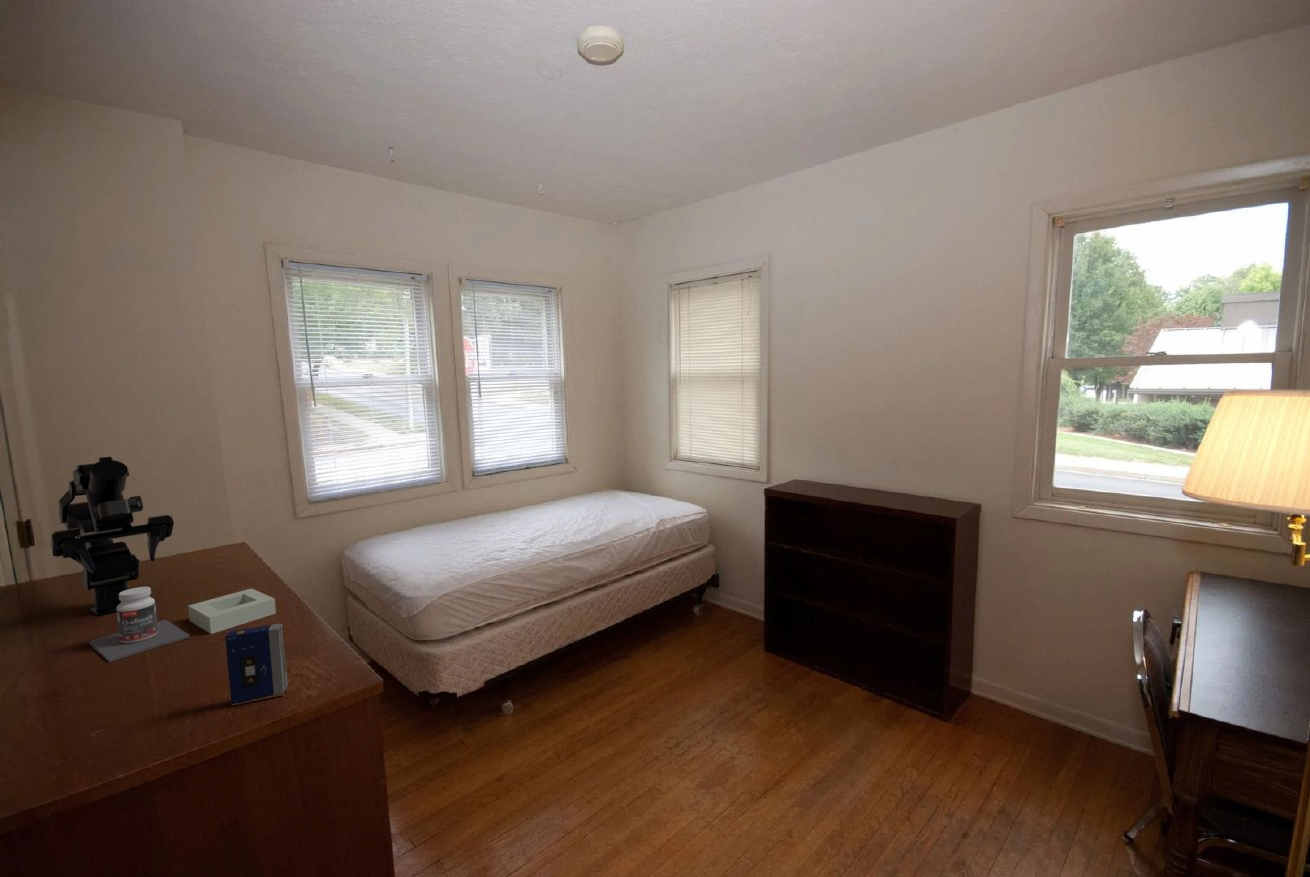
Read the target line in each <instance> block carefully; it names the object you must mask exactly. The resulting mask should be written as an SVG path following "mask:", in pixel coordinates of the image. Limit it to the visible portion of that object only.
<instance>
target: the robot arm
mask: <svg viewBox="0 0 1310 877" xmlns="http://www.w3.org/2000/svg"><path fill="white" fill-rule="evenodd" d="M128 469H129V468H128V466H127V465H126V464H124V463H123V462H121V461H118V460H116V459H115V460H114V459H113V457H112V456H103V457H102V456H101V457H98V461H97V462H95V463H83V464H78V465H77V466H76V469H73V472H72V477H73V480H71V481H69V482H68V490H67V491H66V492H65V493H64V494H63V495H62V497H60V499H59V500H58V513H59V514H58V517H59V521H60V524H63V525H64V526H65V528H66V529H63V530H62V529H61V530H55V531H53V532H52V534H51V536H50V547H51V553H52V557H56V558H58V557H62V558H63V559H68V558H69V559H72V560H73V561H75V562H77V563H78V564H80V565H81V566H82V575H81V578H82V579H81V580H82V585H83V587H84V588H85V590H86V591H90V590H93V595H94V596H93V597H94V604H95V605H94V606H93V607H90V611H91V612H93V613H94V614H95V615H97V616H98V617H99V616H104V615H107V614H111V613H114V612H117V606H118V605H119V604H120V603H121V601H120V600H119V593H120V592H122V591H125V590H128V589H130V587H129V582H130V581H136V580H138V578H140V574H139V573H140V572H139V569H140V559H139V558H137V556H136V554H132V552H131V551H130V548H129V547H128V545H127V543H126V542H124V541H118V542H114V540H116V539H121V538H127V537H133V536H140V535H146V537H147V548H148V549H147V550H148V555H149V560H150V562H155V558H156V551H157V548H158V546H159V544H160V543H161V542H163V541H165V540H166V539H167V538H170V537H171V536H172V533H173V529H174V525H175V521H174V519H173V516H171V515H169V514H161V515H157V516H149V517H147V522H146V524H145V523H144V524H139V525H132V523H134V520H135V519H134V516H133V514H134V513H139V512H142V511H143V509H144V503H143V500H142V497H141V495H135V496H129V497H128V498H127V499H125V497H124V493H123V492H124V491H125V490H126V484H127V478H128V477H130V472H129V470H128ZM79 496H85V497H86V501H84V502H76V503H75V502H74V500H75V499H76V497H79ZM73 502H74V503H73Z"/></svg>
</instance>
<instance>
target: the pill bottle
mask: <svg viewBox="0 0 1310 877" xmlns="http://www.w3.org/2000/svg"><path fill="white" fill-rule="evenodd" d="M151 594H152V590H151V587H150V586H139V587H133V588H129V589H128V590H125V591H122V592H120V593H119V600H120V601H121V603H120V604H119V605H118V606H117V611H116V619H117V629H118V633H119V640H120V642H122V643H136V642H140V641H144V640H147V639H149V638H152V637H153V636H155V635H156V634H157V632H158V629H157V622H158V620H157V619H158V618H157V612H156V611H157V609H156V607H157V606H156V601H155V599H154V598H153V597H151V596H150V595H151Z"/></svg>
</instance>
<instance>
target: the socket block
mask: <svg viewBox="0 0 1310 877" xmlns="http://www.w3.org/2000/svg"><path fill="white" fill-rule="evenodd" d="M187 609H188V619H189V622H191V623H192V624H194V625H196V626H197V627H199V628H201V629H203V630H204V631H205V632H207V633H208V634H211V635H212V634H215V633H219V632H222V631H225V630H228V629H231V628H234V627H237V626H241V625H244V624H247V623H251V622H253V621H257V620H260V619H263V618H266V617H269V616H273V615H276V613H277V612H276V599H275V598H274V597H272V596H270V595H267V594H265V593H263V592H260V591H259V590H257V589H256V590H255V589H254V588H249V589H248V588H247V589H243V590H240V591H237V592H233V593H230V594H226V595H222V596H219V597H215V598H212V599H208V600H204V601H201V602H200V601H199V602H197V603H192V604H188V606H187Z"/></svg>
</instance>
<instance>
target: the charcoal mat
mask: <svg viewBox="0 0 1310 877" xmlns="http://www.w3.org/2000/svg"><path fill="white" fill-rule="evenodd" d="M157 629H158V632H157V634H156V635H155V636H153V637H152V638H149V639H147V640H144V641H140V642H136V643H122V642H120V640H119V632H117V633H113V634H110V635H106V636H103V637H100V638H95V639H92V640H91V639H90V640H88V644H89V645H90V646H91V647H92V648H93V649H94V650H95V651H96V652H97V653H98V654H100V655H101V656H102V657H103V658H104V659H105V660H106V661H107V662H108V663H110V662H115V661H118V660H120V659H124V658H127V657H130V656H134V655H137V654H140V653H143V652H147V651H149V650H153V649H156V648H160V647H162V646H165V645H169V644H172V643H175V642H179V641H182V640H185V639H188V638H190V634H189V633H187V632H185V631H184V630H182V629H181V628H180V627H178V626H176V625H175V624H173V623H171V622H170V621H168V620H167V619H163V620H160V621H157Z"/></svg>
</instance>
